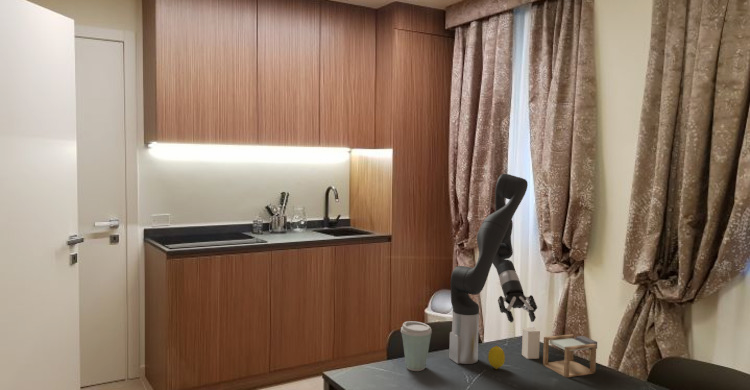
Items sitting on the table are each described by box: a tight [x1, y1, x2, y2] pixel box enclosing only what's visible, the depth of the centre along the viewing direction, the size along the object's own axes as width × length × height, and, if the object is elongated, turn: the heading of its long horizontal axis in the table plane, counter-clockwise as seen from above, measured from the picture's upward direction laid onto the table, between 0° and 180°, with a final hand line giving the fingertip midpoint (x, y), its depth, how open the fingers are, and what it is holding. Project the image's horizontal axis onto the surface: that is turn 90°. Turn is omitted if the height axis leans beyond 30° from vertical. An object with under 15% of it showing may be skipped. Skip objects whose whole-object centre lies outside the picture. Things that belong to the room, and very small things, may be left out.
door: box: [549, 335, 598, 352], centre depth 184 cm, size 13×9×2 cm
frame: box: [542, 333, 597, 378], centre depth 183 cm, size 12×12×10 cm
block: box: [521, 327, 541, 360], centre depth 195 cm, size 4×4×10 cm
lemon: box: [487, 345, 506, 370], centre depth 182 cm, size 6×6×8 cm
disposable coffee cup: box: [400, 320, 433, 372], centre depth 181 cm, size 11×11×15 cm
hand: (522, 321), depth 202 cm, fingers open, 8 cm apart
